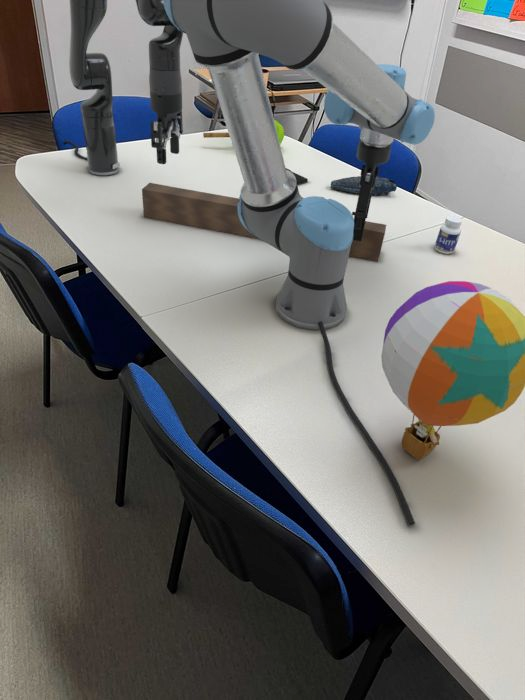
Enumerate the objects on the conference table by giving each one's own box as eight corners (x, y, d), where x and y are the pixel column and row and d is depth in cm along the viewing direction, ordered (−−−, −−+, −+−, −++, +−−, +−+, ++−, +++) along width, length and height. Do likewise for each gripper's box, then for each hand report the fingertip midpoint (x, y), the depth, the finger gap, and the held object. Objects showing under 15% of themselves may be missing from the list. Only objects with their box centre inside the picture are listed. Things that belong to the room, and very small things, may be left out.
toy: (330, 441, 84) (367, 281, 65) (404, 391, 94) (454, 241, 75) (431, 526, 73) (512, 363, 54) (502, 459, 83) (589, 303, 64)
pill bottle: (433, 251, 139) (442, 220, 133) (435, 243, 143) (444, 213, 137) (453, 256, 138) (464, 225, 132) (454, 247, 142) (465, 217, 136)
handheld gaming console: (311, 174, 172) (301, 154, 164) (301, 192, 171) (290, 172, 163) (284, 170, 178) (272, 149, 170) (274, 187, 177) (262, 167, 169)
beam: (379, 252, 136) (386, 224, 131) (378, 261, 133) (385, 232, 128) (151, 210, 146) (149, 182, 141) (143, 217, 142) (141, 189, 138)
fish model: (395, 199, 165) (399, 183, 162) (329, 192, 166) (332, 176, 163) (393, 191, 171) (397, 176, 168) (330, 185, 172) (332, 169, 169)
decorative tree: (200, 113, 191) (280, 113, 196) (201, 142, 197) (278, 141, 203) (205, 127, 177) (291, 126, 183) (206, 158, 184) (288, 156, 189)
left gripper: (163, 81, 129) (165, 148, 139) (138, 93, 118) (143, 164, 128) (191, 85, 128) (192, 152, 138) (168, 98, 117) (171, 169, 127)
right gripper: (364, 124, 128) (350, 206, 142) (352, 157, 109) (337, 247, 123) (395, 129, 127) (378, 210, 140) (388, 162, 108) (368, 253, 121)
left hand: (168, 158), depth 133 cm, fingers open, 8 cm apart
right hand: (359, 228), depth 132 cm, fingers open, 13 cm apart
